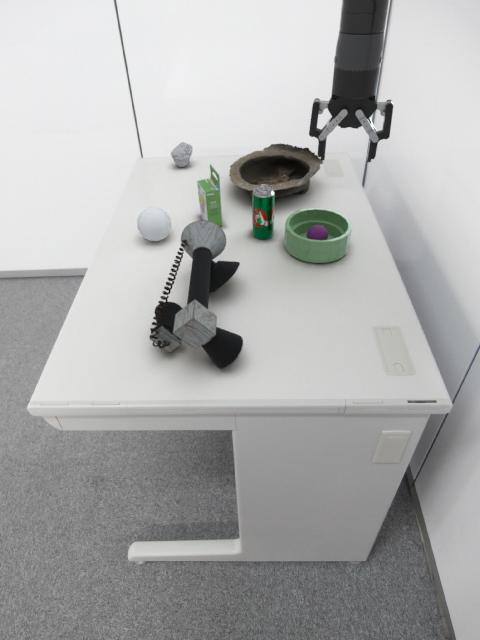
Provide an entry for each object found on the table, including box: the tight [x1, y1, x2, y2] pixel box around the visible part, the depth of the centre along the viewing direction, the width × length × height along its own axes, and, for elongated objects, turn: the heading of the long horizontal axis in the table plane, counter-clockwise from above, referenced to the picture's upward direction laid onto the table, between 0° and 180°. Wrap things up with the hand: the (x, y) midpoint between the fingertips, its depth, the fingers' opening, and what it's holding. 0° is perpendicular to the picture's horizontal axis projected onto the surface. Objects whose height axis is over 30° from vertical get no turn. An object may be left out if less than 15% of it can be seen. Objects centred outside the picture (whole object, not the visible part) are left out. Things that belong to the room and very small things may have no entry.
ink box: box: [196, 163, 223, 228], centre depth 107 cm, size 7×4×13 cm, turn 20°
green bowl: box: [283, 207, 353, 264], centre depth 100 cm, size 15×15×6 cm
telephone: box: [149, 219, 244, 369], centre depth 82 cm, size 15×13×30 cm
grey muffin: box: [170, 141, 193, 168], centre depth 134 cm, size 6×7×7 cm
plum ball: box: [307, 225, 328, 240], centre depth 100 cm, size 5×5×5 cm
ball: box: [136, 206, 172, 242], centre depth 104 cm, size 8×8×8 cm
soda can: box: [251, 184, 276, 240], centre depth 102 cm, size 5×5×12 cm
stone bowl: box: [228, 143, 324, 198], centre depth 120 cm, size 25×25×9 cm
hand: (345, 159), depth 84 cm, fingers open, 8 cm apart
